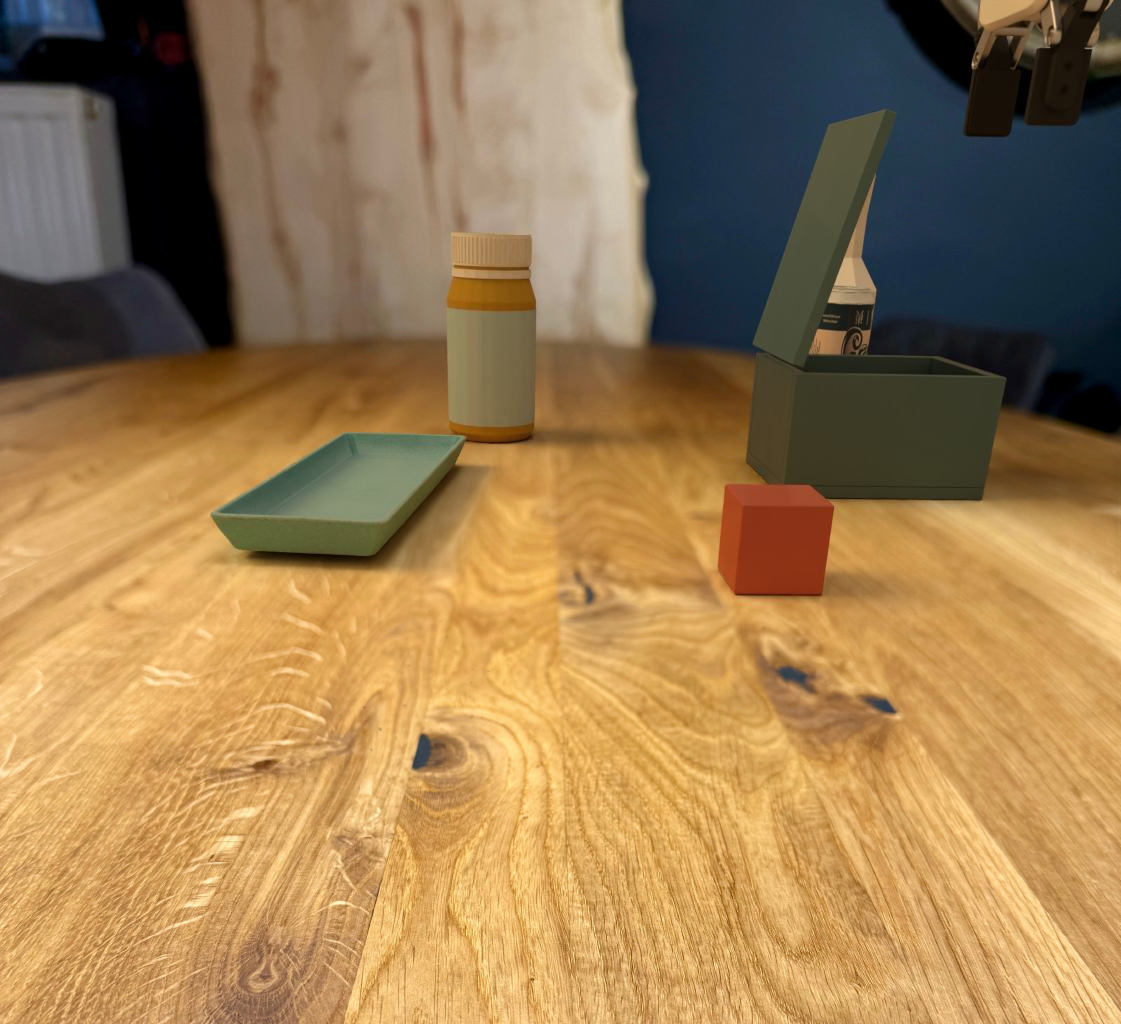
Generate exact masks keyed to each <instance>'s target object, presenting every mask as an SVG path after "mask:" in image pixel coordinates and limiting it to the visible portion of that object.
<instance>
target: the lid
mask: <svg viewBox="0 0 1121 1024" xmlns="http://www.w3.org/2000/svg"><path fill="white" fill-rule="evenodd" d="M897 117H898V113H897V112H895V111H892V110H890V109H887V108H884V109H881V110H878V111H874V112H869V113H867V114H863V115H859V116H856V117H852V118H848V119H844V120H839V121H837V122H834V123H829V124H828V126H827V127H826V132H825V134H824V136H823V140H822V142H821V145H820V149H819V152H818V154H817V157H816V160H815V163H814V164H813V165H814V166H813V168H812V172H811V174H810V177H809V180H808V183H807V186H806V188H805V191H804V194H803V197H802V199H801V203H800V205H799V209H798V211H797V215H796V217H795V220H794V223H793V226H792V229H791V232H790V235H789V237H788V240H787V242H786V246H785V249H784V251H783V254H782V257H781V260H780V264H779V266H778V268H777V272H776V274H775V278H774V281H773V282H772V286H771V290H770V292H769V294H768V297H767V301H766V304H765V307H764V308H763V311H762V315H761V318H760V320H759V324H758V326H757V328H756V332H755V335H754V338H753V340H752V346H754V347H756V348H758V349H760V350H762V351H765V353H770V354H772V355H774V356H776V357H778V358H780V359H782V360H784V361H787V362H789V363H791V364H793V365H796V366H799V367H802V368H803V367H804V365H805V362H806V359H807V357H808V354H809V351H810V349H811V346H812V343H813V340H814V338H815V335H816V332H817V330H818V327H819V324H820V322H821V319H822V316H823V313H824V311H825V308H826V305H827V303H828V300H829V297H830V295H831V292H832V289H833V287H834V284H835V281H836V278H837V276H838V273H839V270H840V268H841V265H842V262H843V260H844V257H845V254H846V252H847V249H848V246H849V243H850V241H851V238H852V235H853V233H854V230H855V227H856V225H857V222H858V219H859V217H860V214H861V211H862V208H863V206H864V203H865V200H866V198H867V195H868V192H869V190H870V187H871V184H872V182H873V179H874V176H875V173H877V171H878V167H879V165H880V162H881V159H882V157H883V155H884V152H885V150H886V147H887V144H888V141H889V138H890V136H891V133H892V130H893V127H894V124H895V122H896V119H897Z"/></svg>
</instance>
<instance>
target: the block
mask: <svg viewBox="0 0 1121 1024" xmlns="http://www.w3.org/2000/svg"><path fill="white" fill-rule="evenodd" d="M722 502H723V503H722V514H721V525H720V535H719V545H718V555H717V556H718V557H717V569H718V571H719V573H720V574H721V575H722V577H723V579H724V580H725V582H726V583H727V585H728V586H729V588H730V589H731V591H732V593H733V594H734V595H799V596H801V595H803V596H805V595H807V596H808V595H811V596H813V595H817V596H820V595H823V592H824V585H825V577H826V570H827V563H828V555H829V548H830V541H831V535H832V534H831V533H832V528H833V527H832V526H833V520H834V512H835V505H834V504H833V503H831V502H830V501H829V500H828V498H824V497H823V496H822V495H821V494H820V493H818V492H817V491H816V490H815V489H814V488H813V487H811V486H810V485H769V484H763V483H762V484H758V483H757V484H755V483H753V484H751V483H748V484H747V483H746V484H745V483H726V484H725V485H724V492H723V501H722Z"/></svg>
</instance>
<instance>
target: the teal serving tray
mask: <svg viewBox="0 0 1121 1024" xmlns="http://www.w3.org/2000/svg"><path fill="white" fill-rule="evenodd" d="M466 439H467V437H466V436H462V435H455V434H435V433H434V434H433V433H405V432H403V433H401V432H399V433H398V432H368V431H367V432H366V431H365V432H360V431H359V432H358V431H343V432H342V433H340V434H339V435H337V436H335V437H334V438H332V439H330V440H329V441H326V442H325V443H324V444H322V445H321V446H319V447H316V449H314V450H312V451H311V452H309V453H307V454H306V455H304V456H302V457H301V458H299V459H298V460H296V461H294V462H293V463H291V464H289V465H287V466H286V467H284V468H283V469H282V470H280V471H278V472H276V473H274V474H273V475H271V476H270V477H268V478H266V479H265V480H263V481H261V482H260V483H258V484H256V485H254V486H253V487H251V488H250V489H248V490H245V492H243V493H240V495H238V496H236V497H234V498H233V499H231V500H229V501H228V502H226V503H224V504H223V505H222V504H221V506H219V507H218V508H216V509H214V510H212V511H211V512H210V514H209V516H210V517H211V519H212V521H213V522H214V524H215V525H216V527H217V528H218V529H219V531H220V533H222V534H223V536H224V537H225V538H226V540H228V542H229V543H230V544H231V545H232V546H233V548H234V549H236V550H240V551H253V552H254V551H255V552H257V551H258V552H276V553H298V554H319V555H320V554H321V555H341V556H359V557H361V556H362V557H370V556H374V555H376V554H377V553H379V551H380V550H381V549H382V548H383V547H384V545H385V544H386V543H387V542H388V541H389V540H390V539H391V538H392V537H394V535H395V534H396V533H397V531H399V530H400V528H401V527H402V526H403V525H404V524H405V523H406V522H407V520H408V519H409V518H410V517H411V516H412V515H413V513H414V512H416V510H417V509H418V508H419V507H420V506H421V504H423V502H424V501H425V500H426V499H427V498H428V496H429V495H430V494H431V493H432V492H433V491H434V490H435V489H436V487H437V486H438V485H439V484H440V482H441V481H442V480H443V479H444V478H446V475H447V474H448V473H449V472H450V471H451V470H452V469H453V468H454V467H455V465H456V463H457V461H458V459H459V457H460V455H461V453H462V451H463V448H464V446H465V444H466V441H467V440H466Z"/></svg>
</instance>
